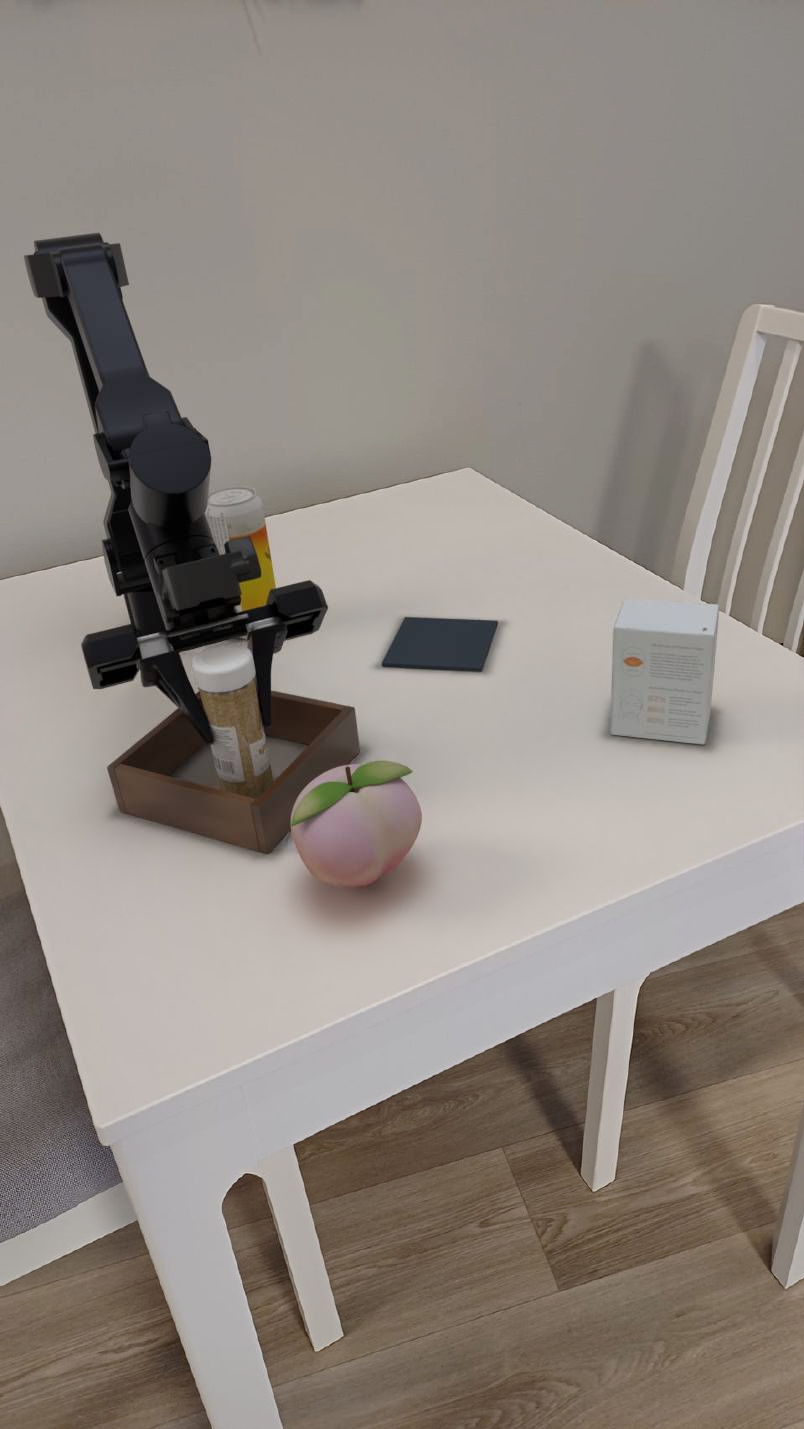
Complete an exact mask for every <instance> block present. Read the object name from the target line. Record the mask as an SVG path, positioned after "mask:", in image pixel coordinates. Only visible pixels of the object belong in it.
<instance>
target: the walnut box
mask: <svg viewBox="0 0 804 1429" xmlns="http://www.w3.org/2000/svg"><path fill="white" fill-rule="evenodd" d="M195 694H196V697H197V699H198V701H199V703H200V705H201V708H202V710H203V704H202V700H201V695H200V691H199V690H198V691H197V692H195ZM203 712H204V710H203ZM263 726H264V724H263ZM264 731H265V736H268V737H271V738H272V737H273V738H278V739H281V740H286V741H290V742H294V743H298V744H299V743H300V744H304V745H307V747H305V749H304V750H302V751H301V753H300V754H299V755H298V756H297V757H296V758H295V759H294V760H293V761H292V762H291V763H289V765H288V766H287V767H286V768H285V769H284V770H283V771H282V773H280V774H279V776H278V777H276V778H275V780H273V781H274V782H273V783H272V784H271V785H270V786H269V787H268V788H267V789H266V790H265V791H264V792H263V793H262V794H261V795H260V796H259V797H258V798H257V799H254V798H250V797H246V796H243V795H239V794H235V793H231V792H227V791H223V790H222V789H220V788H215V787H212V786H208V785H203V784H200V783H196V782H192V781H189V780H185V779H181V778H176V777H174V776H170V775H171V774H172V773H174V772H175V771H176V770H177V769H178V768H179V767H180V766H181V765H182V764H184V763H185V761H187V760H188V759H189V758H191V756H192V755H193V754H195V753H196V752H197V751H198V750H199V749H200V748H201V747H203V746H204V745H205V744H207V743H206V742H205V741H204V739H203V738H202V737H201V736H200V734H199V733H198V732H197V731H196V729H195V728H194V727H193V726H192V724H191V723H190V722H189V720H188V719H187V718H186V717H185V715H184V714H183V713H182V712H181V710H180V709H179V708H178V707H177V708H176V709H175V710H174V711H173V712H172V713H170V714H169V715H168V716H166V718H164V719H162V721H161V722H160V723H158V724H157V725H156V726H155V727H153V728H152V729H151V730H150V731H148V732H147V733H146V734H145V735H144V736H143V737H141V738H140V739H139V740H137V741H136V742H135V743H134V744H133V745H132V746H130V747H129V748H127V750H125V751H124V752H123V753H122V754H121V755H120V756H118V757H117V758H116V759H114V760H113V761H112V762H111V763H109V764H108V765H107V766H106V769H107V774H108V777H109V780H110V784H111V787H112V790H113V793H114V797H115V801H116V805H117V807H118V811H119V812H121V813H124V814H127V815H130V816H134V817H138V818H141V819H143V820H144V819H145V820H148V821H151V822H155V823H157V824H162V825H166V826H169V827H173V828H176V829H180V830H183V831H186V832H191V833H193V834H196V835H200V836H204V837H207V838H211V839H214V840H217V841H221V842H225V843H229V844H232V845H236V846H238V847H243V848H246V849H250V850H253V851H257V852H261V853H264V854H268V855H269V854H270V853H271V852H272V851H273V849H274V848H275V847H276V846H277V845H278V844H279V843H280V842H281V841H282V840H283V838H285V836H286V835H287V834H288V833H289V832H290V831H291V813H292V810H293V806H294V804H295V802H296V800H297V798H298V796H299V795H300V793H301V792H302V790H303V789H304V788H305V787H306V786H307V785H308V784H309V783H310V782H311V781H313V780H314V779H315V778H316V777H318V776H320V775H321V774H323V773H324V772H326V771H329V770H331V769H333V768H336V767H339V766H344V765H350V763H351V762H352V760H353V759H355V757H356V756H357V755H358V754H359V753H360V752H361V746H360V740H359V730H358V721H357V714H356V707H355V706H350V705H345V704H341V703H336V702H331V701H325V700H321V699H317V698H312V697H306V696H301V695H297V694H291V693H287V692H281V691H278V690H277V691H276V690H272V689H271V727H270V728H268V729H265V727H264Z"/></svg>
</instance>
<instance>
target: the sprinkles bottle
mask: <svg viewBox="0 0 804 1429" xmlns="http://www.w3.org/2000/svg"><path fill="white" fill-rule="evenodd" d="M191 668H192V673H193V674H192V675H193V678H194V682H195V685H196V686H197V689H198V691H200V695H201V700H202V704H203V710H204V714H205V717H206V719H207V721H208V724H209V727H210V730H211V734H212V737H213V741H214V742H213V745H210V749H211V753H212V758H213V762H214V766H215V771H216V774H217V776H218V780H219V784H220V788H221V789H220V790H223V791H227V792H231V793H235V794H239V795H243V796H246V797H250V798H254V799H257V798H258V797H259V796H260V795H261V794H262V793H263V792H264V791H265V790H266V789H267V788H268V787H269V786H270V785H271V784H272V783H273V782H274V781H275V780H274V777H273V770H272V766H271V756H270V752H269V747H268V742H267V738H266V735H265V731H264V726H263V721H262V715H261V712H260V708H259V702H258V697H257V692H256V686H255V681H254V680H255V665H254V661H253V656H252V653H251V651H250V650H249V649H248V648H247V647H246V646H245V645H242V644H238V643H220V644H219V643H218V644H214V645H212V646H209V647H206V648H204V649H202V650H201V651H199V652H197V654H196V655H195V656H194V657H193V659H192V662H191Z"/></svg>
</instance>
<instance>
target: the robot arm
mask: <svg viewBox="0 0 804 1429" xmlns="http://www.w3.org/2000/svg"><path fill="white" fill-rule="evenodd" d="M33 247H34V252H33V254H26V255H23V260H24V264H25V268H26V273H27V276H28V281H29V284H30V287H31V291H32V294H33V296H34V297H35V298H37V299H41V301H42V304H43V307H44V311H45V314H46V317H47V318H48V319H49V320H50V321H51V322H52V323H53V325H54V326H55V327H56V328H57V329H58V330H59V331H60V332H61V333H62V334H63V335H64V336H65V337H66V338H67V339H68V340H69V342H70V344H71V348H72V352H73V355H74V359H75V362H76V366H77V370H78V374H79V377H80V381H81V385H82V389H83V392H84V397H85V400H86V404H87V408H88V411H89V416H90V419H91V422H92V426H93V430H94V433H93V434H92V438H93V444H94V448H95V452H96V457H97V460H98V464H99V467H100V469H101V473H102V475H103V478H104V479H105V480H106V481H107V482H108V485H109V490H110V497H109V500H108V503H107V507H106V510H105V512H104V516H103V521H102V524H103V527H104V528H103V529H104V532H105V535H106V538H104V539H101V545H102V553H103V560H104V565H105V568H106V572H107V576H108V580H109V582H110V585H111V587H112V588H113V592H114V594H115V596H116V597H117V598H118V597H122V595H123V598H124V602H125V606H126V610H127V615H128V619H129V622H130V623H129V624H126V625H121V626H116V627H113V628H108V629H105V630H99V631H96V632H92V633H88V634H86V635H85V636H84V638H83V640H82V641H81V644H80V646H81V651H82V655H83V659H84V663H85V666H86V669H87V673H88V677H89V679H90V680H89V681H90V683H91V687H92V689H93V690H103V689H107V688H111V687H115V686H119V685H122V684H126V683H130V682H133V681H134V680H135V679H136V677H137V675H138V674H139V672H140V683H141V686H142V687H143V688H150V687H151V688H152V687H156V688H157V689H158V690H159V691H160V692H161V693H162V694H163V695H165V697H166V698H167V699H169V701H171V702H172V704H174V705H175V706H176V707H177V709H178V708H179V709H180V710H181V712H182V713H183V714H184V715H185V717H186V718H187V719H188V720H189V722H190V723H191V724H192V726H193V727H194V728H195V729H196V731H197V732H198V733H199V734H200V736H201V737H202V738H203V739H204V741H205V742H206V743H205V744H206V745H207V746H211V745H213V742H214V741H213V737H212V734H211V730H210V727H209V724H208V721H207V719H206V717H205V714H204V712H203V710H202V708H201V705H200V703H199V701H198V699H197V697H196V692H195V690H194V688H193V686H192V683H191V681H190V679H189V677H188V675H187V672H186V669H185V666H184V663H183V659H182V657H181V655H180V653H183V652H187V651H191V650H195V649H199V648H203V647H207V646H210V645H216V644H217V643H218V644H219V643H222V642H226V641H229V640H234V639H237V638H238V637H242V636H245V638H244V639H245V641H246V642H247V648H248V649H249V650H250V651H251V653H252V656H253V661H254V665H255V680H254V681H255V686H256V692H257V697H258V702H259V708H260V712H261V715H262V721H263V724H264V727H265V729H268V728H270V727H271V690H272V667H273V660H274V654H277V653H279V652H281V651H282V649H283V646H284V643H285V641H290V640H294V639H297V638H302V637H306V636H309V635H312V634H314V633H316V632H318V631H319V630H320V628H321V627H322V623H323V621H324V619H325V616H326V614H327V612H328V609H329V606H328V604H327V600H326V597H325V595H324V591H323V589H322V588H321V587H320V586H319V585H318V584H317V583H315V582H313V580H311V579H308V580H304V581H299V582H295V583H292V584H291V583H290V584H287V585H284V586H279V587H276V588H275V589H271V590H270V591H269V595H268V599H267V603H266V605H265V606H261V607H257V608H253V609H249V610H245V611H241V612H238V611H237V608H236V606H238V605H240V604H241V597H240V595H242V592H241V588H240V585H239V583H241V582H245V581H249V580H254V579H257V578H260V577H261V575H262V573H261V567H260V563H259V560H258V556H257V553H256V550H255V548H254V545H253V542H252V540H251V537H250V536H247V537H243V538H239V539H234V540H230V541H228V542H226V543H225V544H224V548H225V553H226V554H222V555H220V554H219V551H218V549H217V547H216V544H215V542H214V539H213V536H212V533H211V530H210V527H209V524H208V521H207V518H206V515H205V511H206V509H207V504H208V493H209V492H210V483H211V482H210V481H211V480H210V479H211V468H212V453H211V449H210V444H209V439H208V438H207V437H206V436H204V435H203V434H202V433H201V432H200V431H199V430H197V428H196V427H194V425H193V424H192V422H191V421H190V419H189V418H188V417H187V416H183V417H182V415H181V413H180V411H179V408H178V406H177V403H176V401H175V398H174V396H173V393H172V391H171V390H170V389H169V388H167V387H166V386H164V385H163V384H161V383H160V382H159V381H157V380H155V379H154V378H153V377H151V376H150V373H149V371H148V368H147V366H146V363H145V359H144V357H143V354H142V351H141V348H140V345H139V343H138V340H137V337H136V334H135V332H134V329H133V326H132V323H131V320H130V317H129V315H128V312H127V308H126V306H125V303H124V295H123V292H122V288H123V287H126V286H130V281H129V278H128V274H127V268H126V263H125V260H124V256H123V251H122V246H121V243H120V242H118V243H117V242H116V243H109V242H108V241H106V242H105V241H104V239H103V237H102V235H101V233H100V232H94V233H93V232H92V233H86V234H76V235H70V236H69V235H68V236H61V237H53V238H46V239H45V238H44V239H37V240H33Z"/></svg>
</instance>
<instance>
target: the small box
mask: <svg viewBox="0 0 804 1429" xmlns="http://www.w3.org/2000/svg"><path fill="white" fill-rule="evenodd" d="M719 617H720V604H717V603H701V602H688V601H687V602H686V601H685V602H684V601H671V600H655V599H639V598H629V597H628V598H627V597H626V598H624V599H623V600H622V602H621V606H620V608H619V612H618V614H617V616H616V619H615V622H614V625H613V628H612V654H611V656H612V657H611V658H612V659H611V660H612V662H611V689H610V690H611V692H610V693H611V694H610V728H609V732H610V734H611V735H614V736H622V737H631V738H638V739H639V738H640V739H647V740H648V739H649V740H658V741H667V742H668V741H669V742H677V743H685V744H693V745H705V744H706V742H707V736H708V729H709V724H710V716H711V708H712V700H713V699H712V698H713V691H714V690H713V689H714V677H715V667H716V656H717V644H718V642H717V641H718V630H719Z"/></svg>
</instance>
